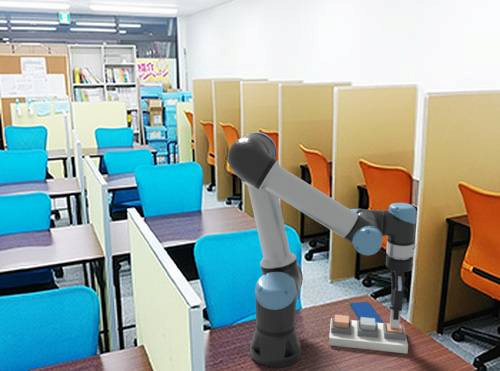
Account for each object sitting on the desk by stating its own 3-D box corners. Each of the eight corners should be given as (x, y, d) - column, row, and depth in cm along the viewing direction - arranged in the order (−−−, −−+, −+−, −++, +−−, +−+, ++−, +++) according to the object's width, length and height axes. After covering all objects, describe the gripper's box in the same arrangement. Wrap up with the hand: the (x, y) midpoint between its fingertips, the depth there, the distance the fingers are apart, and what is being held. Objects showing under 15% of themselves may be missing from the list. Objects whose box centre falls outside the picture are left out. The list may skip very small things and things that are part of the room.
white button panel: (328, 345, 143) (329, 332, 142) (330, 324, 154) (331, 313, 153) (407, 353, 138) (408, 340, 137) (403, 332, 149) (404, 320, 148)
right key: (387, 336, 142) (387, 330, 142) (386, 328, 146) (386, 323, 146) (402, 338, 141) (402, 332, 141) (400, 330, 146) (401, 324, 145)
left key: (334, 327, 145) (334, 321, 145) (334, 320, 149) (334, 314, 149) (348, 328, 144) (348, 322, 144) (348, 321, 148) (348, 315, 148)
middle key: (360, 330, 144) (360, 324, 143) (360, 322, 148) (360, 317, 147) (375, 331, 143) (375, 325, 142) (374, 324, 147) (374, 318, 146)
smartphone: (368, 301, 169) (383, 322, 154) (368, 304, 169) (383, 324, 154) (348, 302, 168) (362, 323, 154) (348, 305, 168) (362, 326, 154)
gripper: (415, 264, 131) (409, 339, 136) (410, 248, 143) (405, 317, 149) (388, 262, 132) (383, 337, 138) (384, 246, 145) (380, 315, 150)
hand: (394, 326), depth 143 cm, fingers closed
